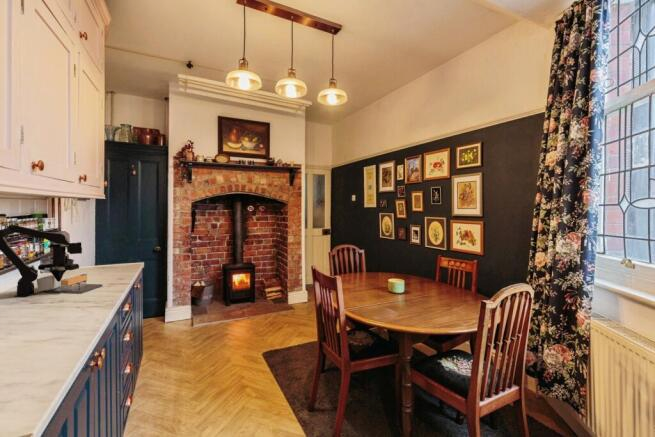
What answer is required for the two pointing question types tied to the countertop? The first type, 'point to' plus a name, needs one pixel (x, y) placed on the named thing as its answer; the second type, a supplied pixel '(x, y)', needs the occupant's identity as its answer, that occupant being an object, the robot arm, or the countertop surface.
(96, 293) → the countertop surface
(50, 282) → the supplement box
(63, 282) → the swing arm
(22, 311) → the countertop surface
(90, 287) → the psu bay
